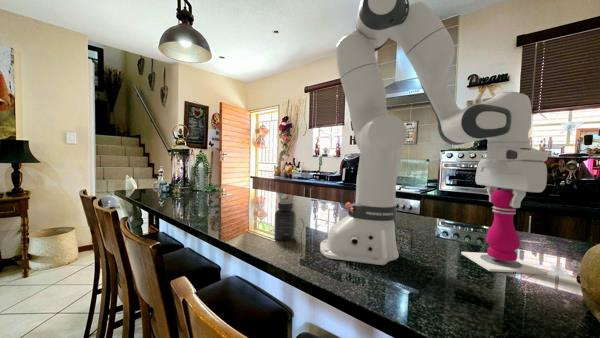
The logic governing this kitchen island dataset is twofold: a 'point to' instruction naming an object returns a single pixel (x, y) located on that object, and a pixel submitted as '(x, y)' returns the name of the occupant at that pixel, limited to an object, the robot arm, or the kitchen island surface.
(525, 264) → the white coaster
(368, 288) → the kitchen island surface
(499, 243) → the pepper mill
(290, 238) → the supplement bottle
